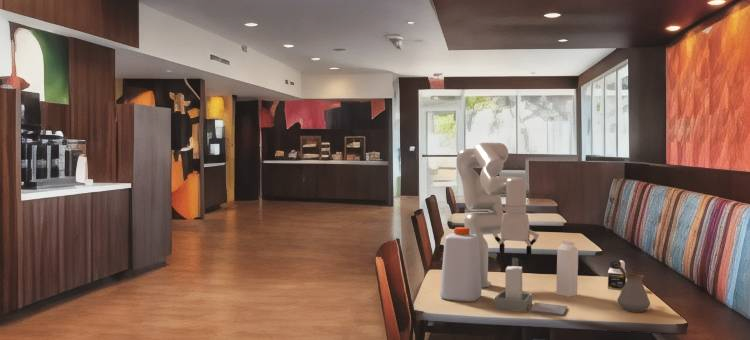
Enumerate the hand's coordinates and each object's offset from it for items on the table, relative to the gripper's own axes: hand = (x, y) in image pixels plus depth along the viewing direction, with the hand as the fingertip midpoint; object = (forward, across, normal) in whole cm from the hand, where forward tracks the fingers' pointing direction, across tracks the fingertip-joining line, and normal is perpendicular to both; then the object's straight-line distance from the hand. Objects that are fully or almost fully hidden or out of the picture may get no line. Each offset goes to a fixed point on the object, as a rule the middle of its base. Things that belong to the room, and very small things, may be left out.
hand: (515, 255), depth 233 cm
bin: (+20, -1, +1) cm, 20 cm away
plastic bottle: (+19, -23, +5) cm, 30 cm away
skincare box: (+20, -1, +1) cm, 20 cm away
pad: (+20, +12, +1) cm, 23 cm away
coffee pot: (+20, +39, +21) cm, 48 cm away
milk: (+19, +15, +29) cm, 38 cm away
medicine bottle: (+19, +33, +52) cm, 65 cm away
